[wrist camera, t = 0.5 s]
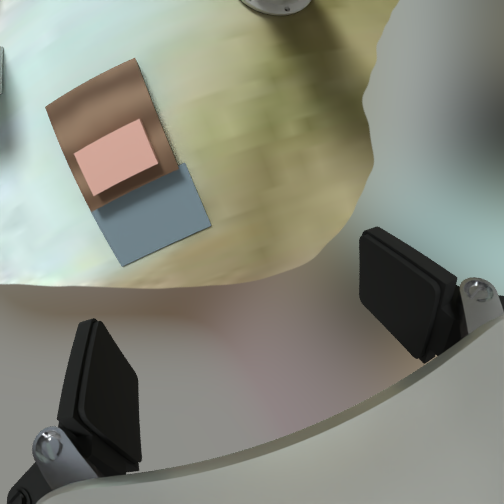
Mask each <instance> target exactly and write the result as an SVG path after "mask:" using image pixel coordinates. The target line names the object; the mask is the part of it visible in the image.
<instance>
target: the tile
mask: <svg viewBox="0 0 504 504" xmlns="http://www.w3.org/2000/svg"><path fill="white" fill-rule="evenodd" d="M74 155H75V157H76V160H77V162H78V164H79V166H80V169H81V171H82V173H83V175H84V177H85V179H86V181H87V184H88V186H89V188H90V190H91V192H92V194H93V196H95V195H97V194H98V193H100V192H102V191H104V190H106V189H108V188H110V187H111V186H113V185H115V184H117V183H119V182H121V181H123V180H125V179H127V178H129V177H131V176H133V175H135V174H137V173H139V172H141V171H143V170H145V169H147V168H150V167H152V166H154V165H156V164H158V159H157V157H156V154H155V152H154V150H153V147H152V145H151V142H150V140H149V138H148V135H147V133H146V130H145V128H144V126H143V123H142V121H141V119H138V120H136V121H134V122H131V123H129V124H127V125H125V126H123V127H121V128H119V129H117V130H115V131H113V132H112V133H110V134H108V135H106V136H104V137H102V138H100V139H98V140H97V141H95V142H93V143H91V144H89V145H88V146H86V147H84V148H83V149H81V150H79V151H77V152H76V153H74Z"/></svg>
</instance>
